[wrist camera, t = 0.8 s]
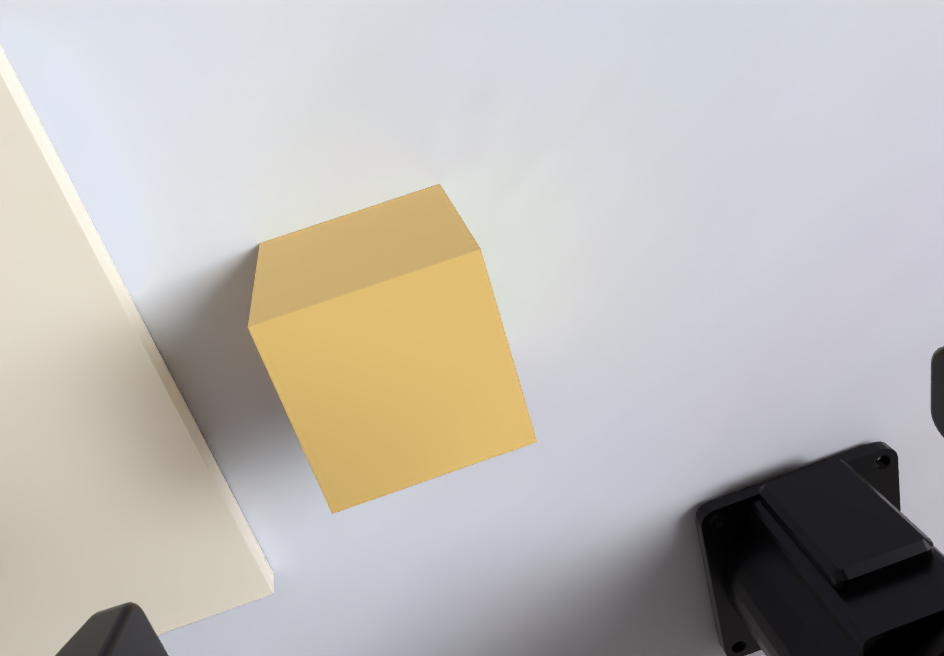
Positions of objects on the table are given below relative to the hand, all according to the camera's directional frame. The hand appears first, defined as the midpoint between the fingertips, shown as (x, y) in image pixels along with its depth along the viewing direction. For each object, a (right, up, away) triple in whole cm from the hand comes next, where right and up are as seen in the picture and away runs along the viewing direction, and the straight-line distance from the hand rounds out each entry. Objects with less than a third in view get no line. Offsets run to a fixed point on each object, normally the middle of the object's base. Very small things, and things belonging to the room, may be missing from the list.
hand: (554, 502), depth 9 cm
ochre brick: (-3, +3, +12) cm, 12 cm away
